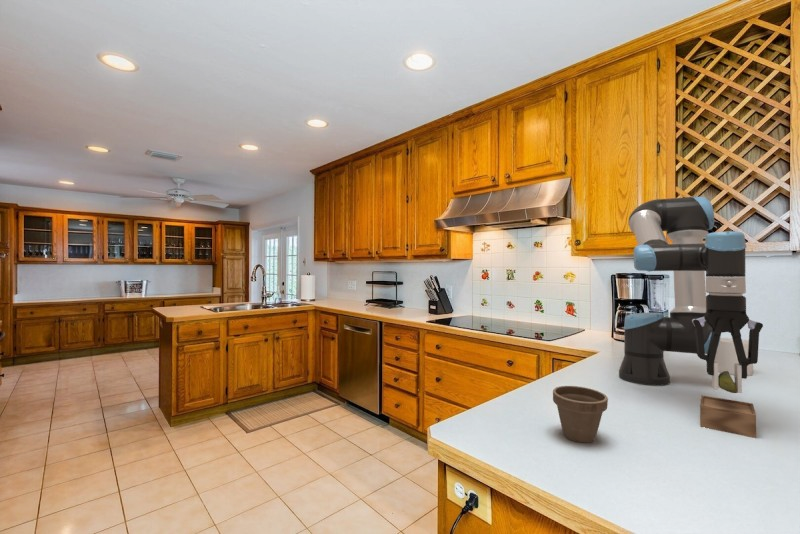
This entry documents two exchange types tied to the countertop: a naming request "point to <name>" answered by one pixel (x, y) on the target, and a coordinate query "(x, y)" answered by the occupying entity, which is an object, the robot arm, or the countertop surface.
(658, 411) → the countertop surface
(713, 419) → the walnut tray
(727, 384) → the lime
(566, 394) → the flower pot
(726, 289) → the robot arm
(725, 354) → the cup
